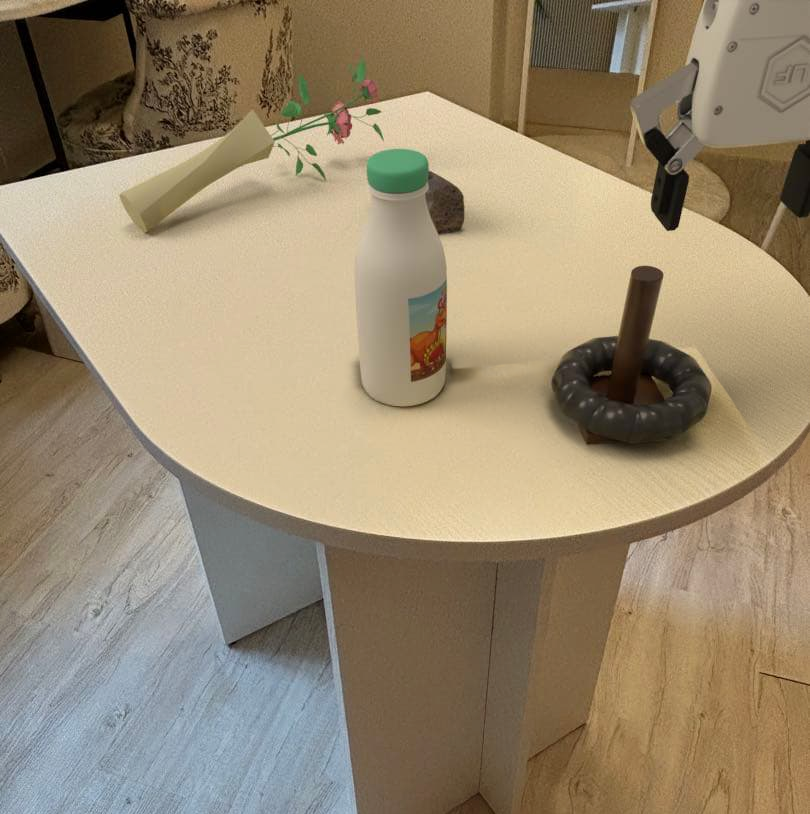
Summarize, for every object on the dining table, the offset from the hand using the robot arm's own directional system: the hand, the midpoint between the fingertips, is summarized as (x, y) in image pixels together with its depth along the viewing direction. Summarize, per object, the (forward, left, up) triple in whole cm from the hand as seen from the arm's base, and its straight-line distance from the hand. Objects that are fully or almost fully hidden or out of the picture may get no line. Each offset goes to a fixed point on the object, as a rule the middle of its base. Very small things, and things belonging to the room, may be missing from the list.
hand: (729, 215), depth 58 cm
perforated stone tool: (+18, -38, -17) cm, 45 cm away
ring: (+5, 0, -14) cm, 15 cm away
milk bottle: (+23, -7, -17) cm, 30 cm away
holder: (+5, 0, -17) cm, 18 cm away
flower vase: (+36, -51, -17) cm, 64 cm away
